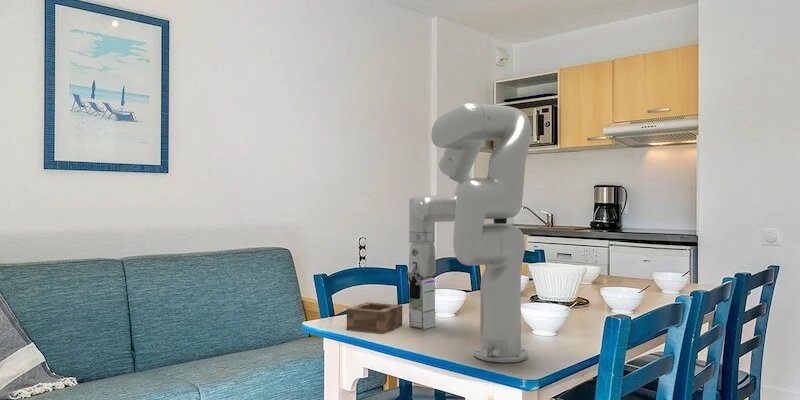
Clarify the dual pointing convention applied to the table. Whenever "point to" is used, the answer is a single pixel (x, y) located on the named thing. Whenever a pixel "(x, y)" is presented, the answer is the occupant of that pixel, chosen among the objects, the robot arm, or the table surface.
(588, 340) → the table surface
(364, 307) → the socket block
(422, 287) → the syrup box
